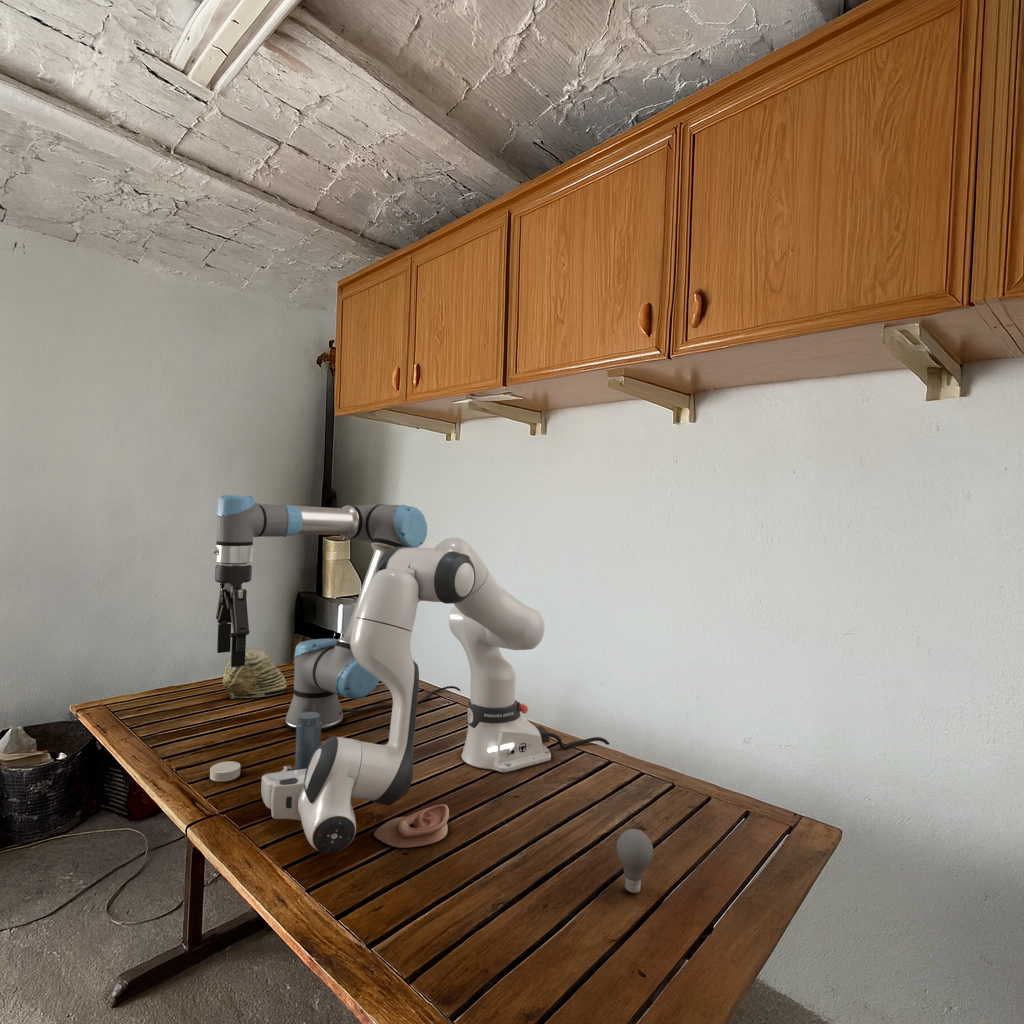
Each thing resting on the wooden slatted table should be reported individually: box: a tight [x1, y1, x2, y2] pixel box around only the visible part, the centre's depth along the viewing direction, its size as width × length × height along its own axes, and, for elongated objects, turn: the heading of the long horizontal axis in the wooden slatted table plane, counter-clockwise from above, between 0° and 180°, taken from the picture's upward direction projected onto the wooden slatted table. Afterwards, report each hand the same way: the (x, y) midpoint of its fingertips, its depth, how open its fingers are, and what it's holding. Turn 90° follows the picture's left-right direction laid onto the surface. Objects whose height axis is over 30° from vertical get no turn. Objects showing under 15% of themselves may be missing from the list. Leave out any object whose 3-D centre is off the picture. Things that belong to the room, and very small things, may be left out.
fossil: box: [222, 646, 288, 699], centre depth 198 cm, size 9×18×15 cm, turn 132°
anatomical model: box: [373, 803, 450, 849], centre depth 121 cm, size 13×4×12 cm
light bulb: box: [615, 828, 654, 894], centre depth 106 cm, size 6×6×10 cm
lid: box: [209, 760, 241, 783], centre depth 142 cm, size 6×6×2 cm
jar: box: [294, 712, 322, 770], centre depth 139 cm, size 5×5×15 cm
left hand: (230, 658), depth 141 cm, fingers open, 13 cm apart
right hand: (310, 766), depth 134 cm, fingers open, 8 cm apart
